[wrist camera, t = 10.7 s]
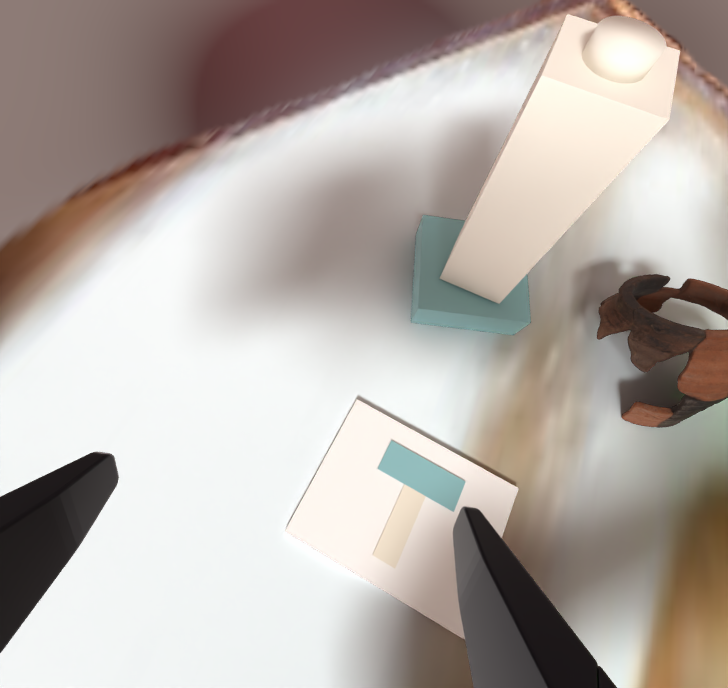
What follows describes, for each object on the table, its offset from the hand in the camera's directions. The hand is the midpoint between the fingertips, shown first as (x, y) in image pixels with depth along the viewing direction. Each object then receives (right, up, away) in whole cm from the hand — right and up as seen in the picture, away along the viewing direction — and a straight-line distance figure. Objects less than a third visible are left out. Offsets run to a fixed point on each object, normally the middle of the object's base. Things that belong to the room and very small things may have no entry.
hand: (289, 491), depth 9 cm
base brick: (+10, +9, +19) cm, 23 cm away
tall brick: (+10, +9, +16) cm, 21 cm away
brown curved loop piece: (+24, +2, +17) cm, 29 cm away
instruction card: (+5, -7, +12) cm, 15 cm away
